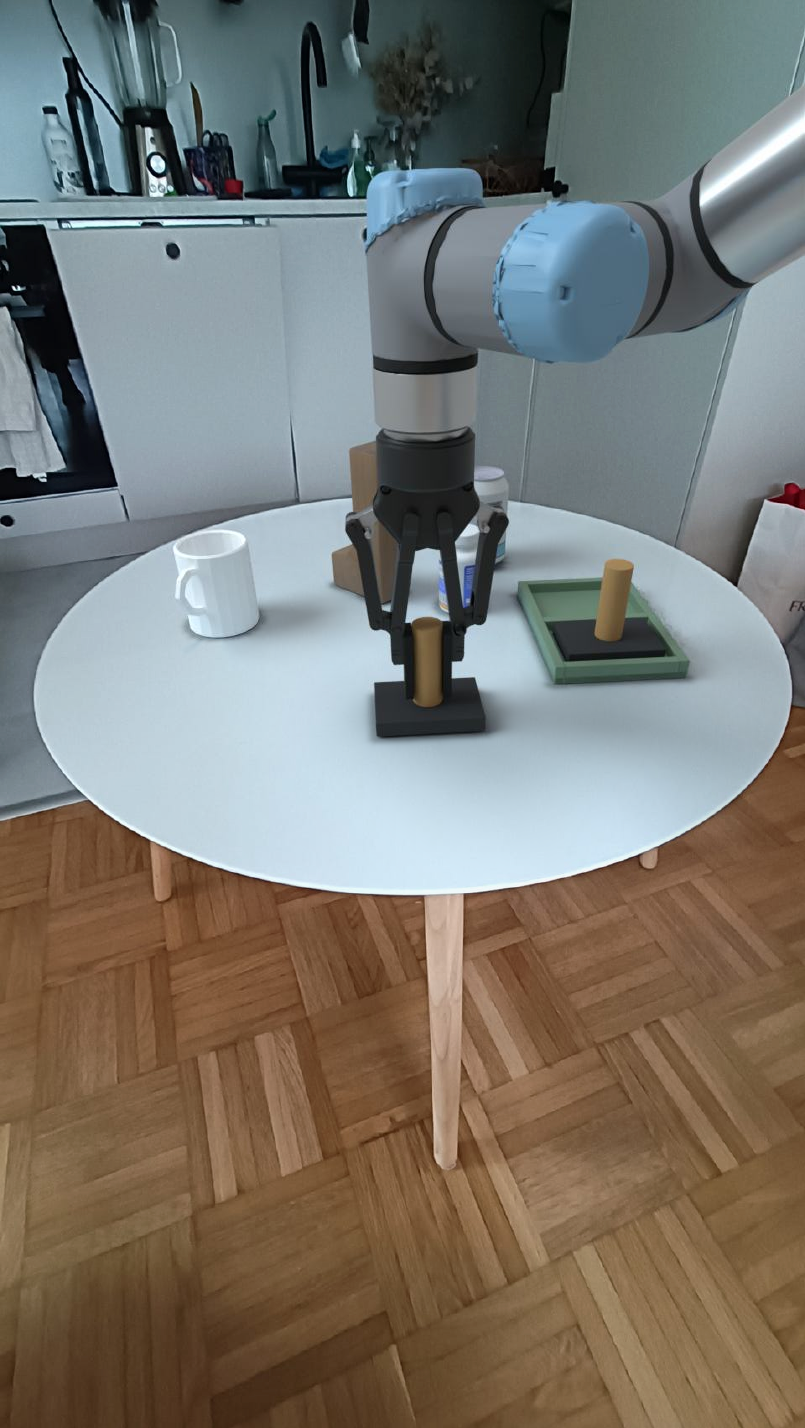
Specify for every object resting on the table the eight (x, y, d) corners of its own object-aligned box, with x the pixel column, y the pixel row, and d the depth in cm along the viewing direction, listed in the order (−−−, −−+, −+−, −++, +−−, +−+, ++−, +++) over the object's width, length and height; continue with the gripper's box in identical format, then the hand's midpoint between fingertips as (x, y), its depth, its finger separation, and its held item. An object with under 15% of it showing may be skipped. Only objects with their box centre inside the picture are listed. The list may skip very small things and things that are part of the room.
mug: (158, 650, 80) (137, 567, 74) (212, 602, 89) (197, 526, 84) (222, 659, 78) (205, 575, 72) (270, 610, 87) (259, 532, 82)
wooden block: (332, 584, 93) (320, 440, 82) (357, 573, 95) (348, 432, 85) (382, 605, 88) (376, 454, 77) (407, 593, 90) (404, 445, 80)
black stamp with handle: (663, 662, 74) (682, 576, 68) (567, 666, 74) (578, 581, 68) (641, 629, 80) (657, 548, 74) (552, 633, 79) (561, 552, 74)
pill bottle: (484, 597, 89) (487, 520, 83) (482, 617, 84) (486, 538, 79) (440, 595, 89) (441, 519, 84) (436, 615, 85) (436, 537, 79)
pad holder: (686, 677, 73) (690, 660, 72) (553, 684, 72) (555, 667, 71) (625, 590, 89) (627, 576, 88) (516, 595, 89) (517, 581, 88)
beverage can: (503, 552, 100) (509, 464, 93) (504, 572, 95) (510, 481, 88) (454, 551, 101) (456, 464, 94) (452, 571, 95) (453, 480, 88)
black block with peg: (485, 730, 66) (489, 640, 60) (376, 736, 66) (371, 646, 60) (474, 689, 72) (477, 603, 66) (374, 694, 71) (369, 608, 66)
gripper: (520, 412, 57) (504, 665, 70) (321, 420, 56) (343, 673, 70) (540, 436, 51) (518, 708, 64) (317, 445, 50) (342, 718, 64)
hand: (427, 689), depth 67 cm, fingers closed on black block with peg, 3 cm apart
